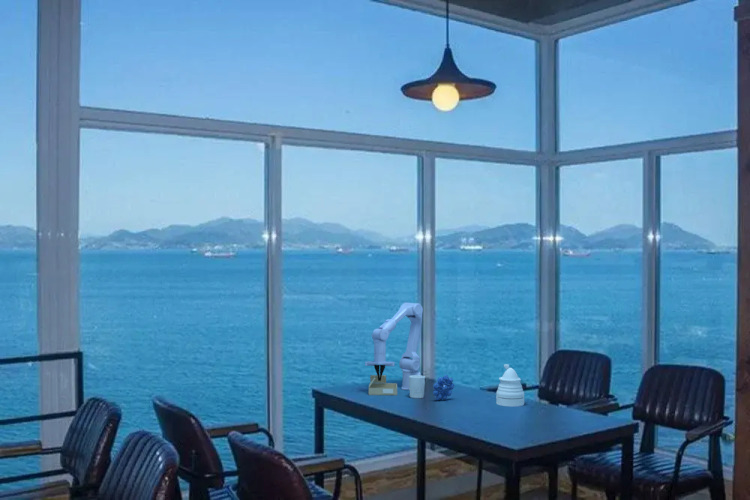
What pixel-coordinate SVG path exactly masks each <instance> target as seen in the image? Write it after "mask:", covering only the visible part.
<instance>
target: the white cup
mask: <svg viewBox="0 0 750 500" xmlns="http://www.w3.org/2000/svg"><path fill="white" fill-rule="evenodd" d="M425 387H426V376H425V375H422V374H420V375H411V376H409V398H412V399H423V398H424V397H425Z"/></svg>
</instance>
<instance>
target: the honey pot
mask: <svg viewBox="0 0 750 500" xmlns="http://www.w3.org/2000/svg"><path fill="white" fill-rule="evenodd" d="M503 368H504V369H505V371H504V372H503V374H502V376H500V377H498V380H499V384H498V387H497V390H496V392H495V393H496V395H495V396H496V397H495V401H496V403H495V405H498V406H502V407H513V408H514V407H522V406H524V405H525V391H524V389H523V385H522V384H521V381H522V379H521V378H520V377H519V375H518V374H517V372H516V370H515V369H514V368H512V367H510V364H509V363H506V364H503Z"/></svg>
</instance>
